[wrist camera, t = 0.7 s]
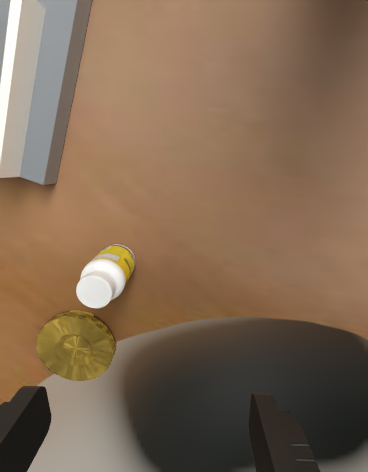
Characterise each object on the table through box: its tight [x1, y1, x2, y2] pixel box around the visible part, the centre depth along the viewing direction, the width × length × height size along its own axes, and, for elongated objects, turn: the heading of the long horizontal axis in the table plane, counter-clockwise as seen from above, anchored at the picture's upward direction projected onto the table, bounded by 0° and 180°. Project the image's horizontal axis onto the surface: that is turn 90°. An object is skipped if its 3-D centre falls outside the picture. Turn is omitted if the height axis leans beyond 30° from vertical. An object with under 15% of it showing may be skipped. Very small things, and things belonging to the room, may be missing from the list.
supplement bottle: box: [76, 244, 136, 308], centre depth 32 cm, size 5×5×10 cm
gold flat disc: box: [37, 310, 116, 381], centre depth 40 cm, size 12×12×2 cm
